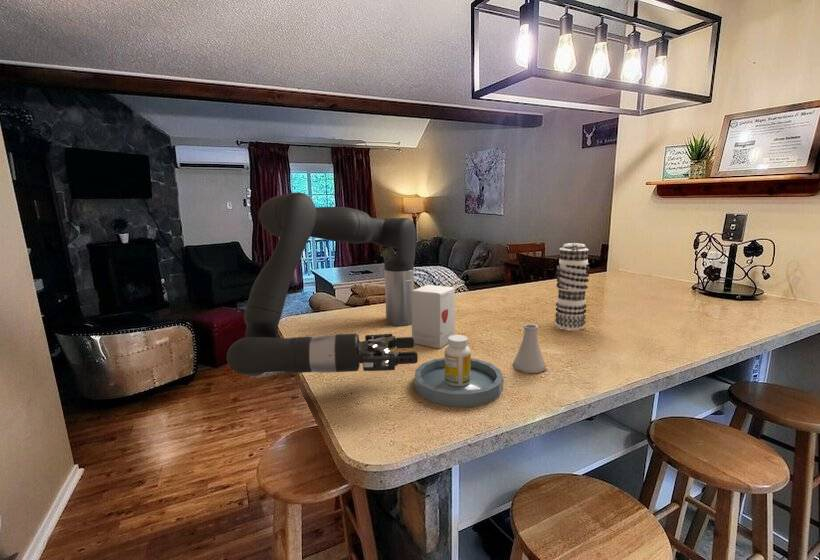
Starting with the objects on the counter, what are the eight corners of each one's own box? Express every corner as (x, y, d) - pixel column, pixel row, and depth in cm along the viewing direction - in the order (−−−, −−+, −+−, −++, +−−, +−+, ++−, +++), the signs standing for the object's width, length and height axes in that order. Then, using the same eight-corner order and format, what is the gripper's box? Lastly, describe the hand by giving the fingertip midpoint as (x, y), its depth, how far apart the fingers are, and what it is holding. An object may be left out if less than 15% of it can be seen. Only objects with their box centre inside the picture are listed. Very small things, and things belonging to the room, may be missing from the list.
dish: (434, 363, 95) (434, 352, 95) (510, 375, 87) (510, 364, 87) (400, 395, 79) (400, 383, 79) (489, 414, 72) (489, 401, 71)
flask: (552, 371, 89) (554, 329, 87) (523, 376, 87) (525, 332, 85) (534, 359, 96) (535, 319, 94) (507, 363, 94) (508, 323, 92)
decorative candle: (593, 327, 119) (598, 243, 115) (573, 333, 114) (578, 246, 110) (566, 320, 127) (571, 241, 122) (547, 325, 122) (551, 243, 117)
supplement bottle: (447, 388, 80) (447, 343, 79) (442, 376, 86) (442, 334, 84) (473, 386, 81) (473, 341, 79) (467, 375, 86) (467, 333, 84)
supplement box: (440, 349, 104) (439, 293, 101) (411, 343, 109) (410, 290, 106) (455, 339, 112) (455, 286, 109) (428, 334, 116) (427, 284, 113)
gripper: (329, 347, 72) (418, 343, 74) (337, 324, 86) (412, 321, 87) (332, 386, 74) (419, 381, 75) (339, 357, 88) (412, 353, 89)
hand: (415, 349), depth 81 cm, fingers open, 8 cm apart
